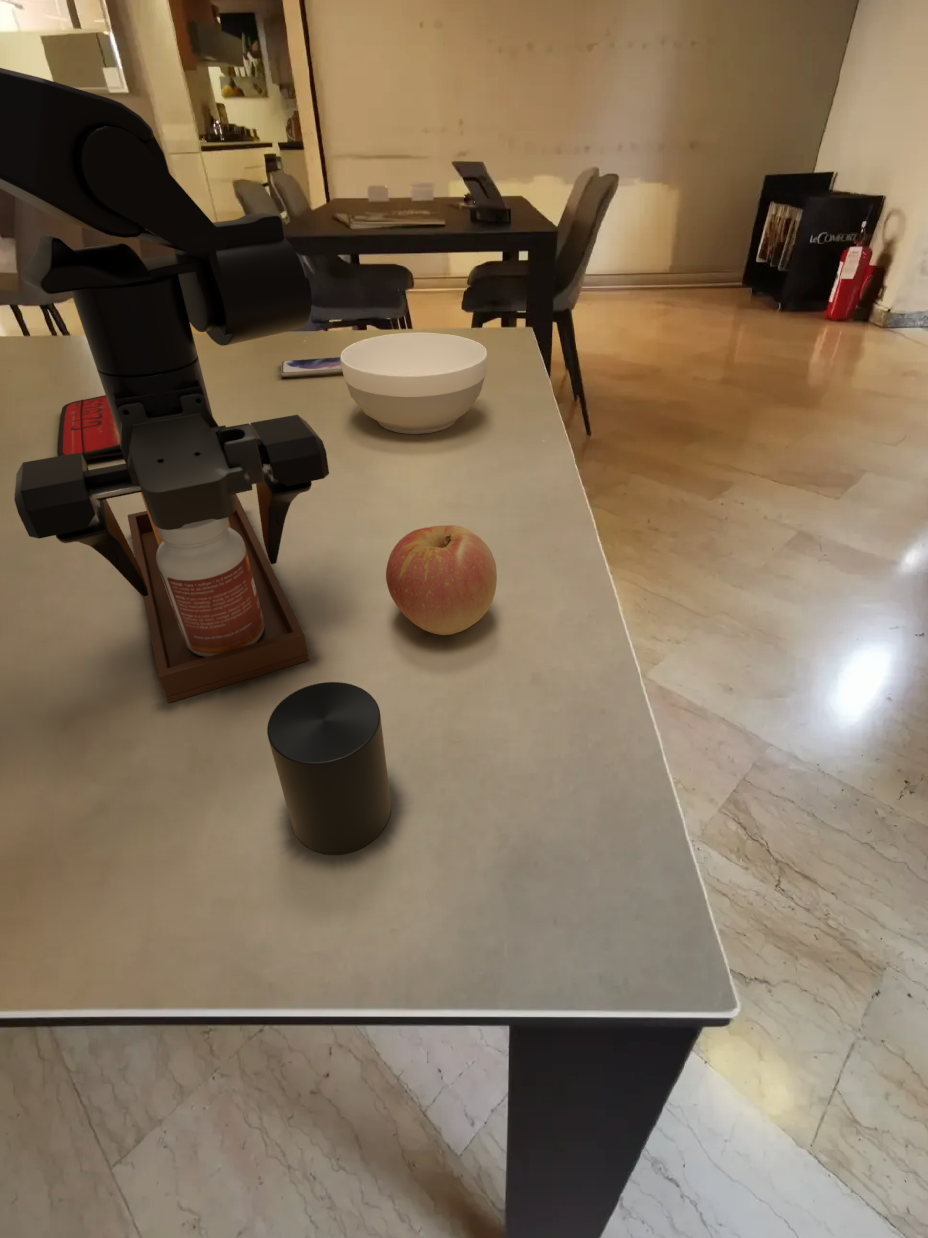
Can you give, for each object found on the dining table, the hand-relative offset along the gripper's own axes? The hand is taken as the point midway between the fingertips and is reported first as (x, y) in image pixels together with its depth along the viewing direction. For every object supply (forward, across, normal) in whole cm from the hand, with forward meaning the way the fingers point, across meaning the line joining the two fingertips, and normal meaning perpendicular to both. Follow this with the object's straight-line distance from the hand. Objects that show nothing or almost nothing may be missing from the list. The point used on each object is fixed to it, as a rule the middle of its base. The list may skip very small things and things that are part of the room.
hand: (210, 576), depth 50 cm
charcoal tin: (+6, +3, -20) cm, 21 cm away
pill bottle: (+6, 0, 0) cm, 6 cm away
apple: (+7, +17, -5) cm, 18 cm away
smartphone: (+6, +28, +63) cm, 69 cm away
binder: (+6, -4, +52) cm, 52 cm away
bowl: (+7, +32, +37) cm, 49 cm away
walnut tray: (+6, 0, +8) cm, 10 cm away
